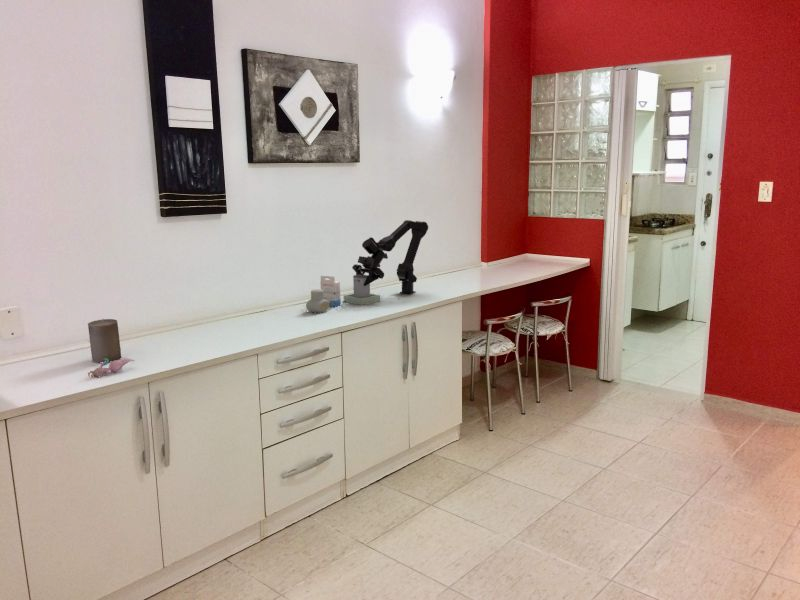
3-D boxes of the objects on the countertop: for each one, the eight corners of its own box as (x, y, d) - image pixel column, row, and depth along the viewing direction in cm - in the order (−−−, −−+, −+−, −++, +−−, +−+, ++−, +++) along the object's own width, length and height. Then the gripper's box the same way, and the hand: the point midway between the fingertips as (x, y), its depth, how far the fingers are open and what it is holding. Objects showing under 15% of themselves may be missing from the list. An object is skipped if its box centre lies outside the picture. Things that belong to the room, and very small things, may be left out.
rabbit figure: (95, 384, 215) (139, 366, 225) (90, 367, 213) (134, 350, 223) (87, 379, 219) (130, 362, 229) (82, 363, 217) (126, 347, 227)
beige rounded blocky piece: (317, 314, 304) (316, 293, 302) (303, 312, 309) (302, 291, 307) (332, 310, 313) (331, 289, 311) (318, 308, 318) (317, 287, 316)
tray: (362, 297, 342) (362, 291, 341) (380, 301, 333) (380, 295, 332) (343, 301, 333) (343, 295, 332) (360, 305, 324) (360, 299, 323)
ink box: (341, 305, 325) (340, 275, 322) (335, 307, 320) (334, 276, 317) (326, 303, 329) (325, 274, 326) (320, 305, 324) (319, 275, 321)
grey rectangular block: (361, 295, 337) (360, 274, 334) (370, 297, 332) (369, 275, 330) (352, 297, 332) (351, 275, 330) (360, 299, 328) (360, 277, 326)
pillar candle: (124, 354, 242) (120, 314, 239) (117, 362, 233) (113, 320, 230) (96, 356, 241) (91, 316, 238) (88, 364, 232) (83, 322, 229)
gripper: (354, 248, 337) (338, 272, 332) (379, 251, 324) (363, 276, 319) (366, 262, 344) (350, 286, 339) (391, 265, 331) (375, 290, 326)
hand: (359, 284), depth 330 cm, fingers closed on grey rectangular block, 7 cm apart
